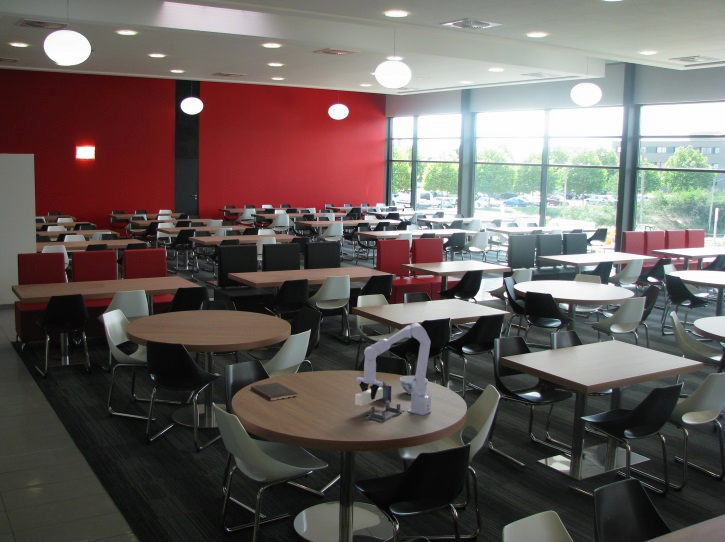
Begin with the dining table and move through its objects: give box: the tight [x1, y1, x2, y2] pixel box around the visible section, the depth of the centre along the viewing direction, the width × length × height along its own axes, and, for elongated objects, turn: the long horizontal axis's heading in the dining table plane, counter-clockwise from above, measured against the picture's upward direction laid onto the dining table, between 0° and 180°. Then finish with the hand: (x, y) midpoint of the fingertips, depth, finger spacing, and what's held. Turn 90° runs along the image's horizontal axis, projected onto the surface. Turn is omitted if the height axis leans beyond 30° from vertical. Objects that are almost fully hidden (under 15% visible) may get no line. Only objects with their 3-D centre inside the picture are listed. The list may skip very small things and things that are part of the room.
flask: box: [377, 380, 392, 403], centre depth 378 cm, size 9×3×11 cm, turn 65°
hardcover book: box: [250, 382, 299, 401], centre depth 386 cm, size 16×23×2 cm
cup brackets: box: [366, 401, 405, 423], centre depth 355 cm, size 8×20×5 cm, turn 145°
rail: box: [354, 387, 383, 407], centre depth 360 cm, size 4×18×5 cm, turn 144°
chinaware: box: [399, 375, 429, 395], centre depth 393 cm, size 15×15×8 cm
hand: (369, 398), depth 360 cm, fingers closed on rail, 4 cm apart
